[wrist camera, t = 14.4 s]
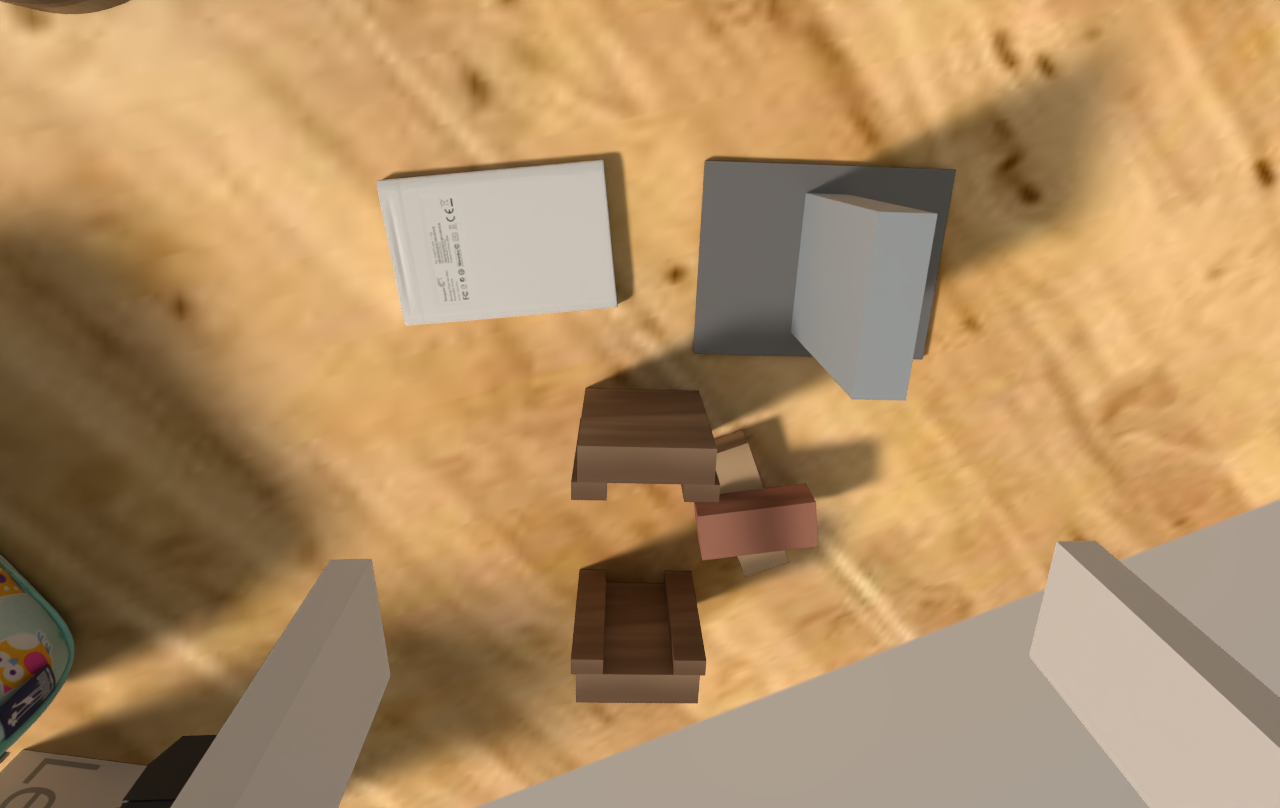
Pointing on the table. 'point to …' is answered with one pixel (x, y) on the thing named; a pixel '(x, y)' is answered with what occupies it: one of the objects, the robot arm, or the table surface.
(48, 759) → the brochure
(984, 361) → the table surface
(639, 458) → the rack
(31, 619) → the lunch box
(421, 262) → the external hard drive
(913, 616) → the table surface
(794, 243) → the mat
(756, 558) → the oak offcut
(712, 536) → the mahogany offcut
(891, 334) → the grey upright panel
